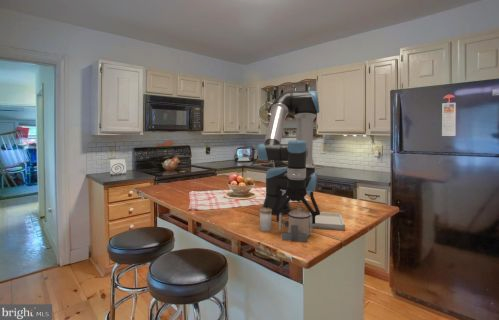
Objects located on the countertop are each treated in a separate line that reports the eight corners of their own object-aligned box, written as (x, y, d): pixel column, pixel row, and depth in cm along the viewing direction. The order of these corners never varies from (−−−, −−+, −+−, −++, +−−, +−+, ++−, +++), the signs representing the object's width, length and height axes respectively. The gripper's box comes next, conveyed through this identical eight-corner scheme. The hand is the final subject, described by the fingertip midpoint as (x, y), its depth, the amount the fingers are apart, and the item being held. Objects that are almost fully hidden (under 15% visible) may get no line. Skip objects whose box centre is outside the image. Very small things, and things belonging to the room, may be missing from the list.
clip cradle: (281, 240, 109) (281, 225, 109) (285, 227, 124) (285, 214, 124) (307, 242, 107) (307, 227, 107) (307, 229, 122) (308, 215, 121)
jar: (258, 231, 119) (258, 210, 119) (260, 226, 125) (260, 207, 124) (270, 232, 118) (271, 211, 117) (272, 227, 123) (272, 207, 123)
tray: (309, 228, 123) (309, 222, 123) (309, 216, 141) (309, 211, 140) (344, 230, 120) (344, 225, 120) (340, 218, 137) (340, 213, 137)
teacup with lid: (310, 231, 118) (311, 205, 117) (309, 239, 110) (310, 210, 109) (282, 229, 122) (282, 203, 120) (279, 236, 113) (279, 208, 112)
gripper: (265, 178, 112) (265, 230, 114) (327, 181, 107) (326, 235, 109) (268, 175, 120) (267, 224, 122) (326, 178, 114) (325, 229, 117)
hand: (295, 229), depth 116 cm, fingers closed on teacup with lid, 12 cm apart
